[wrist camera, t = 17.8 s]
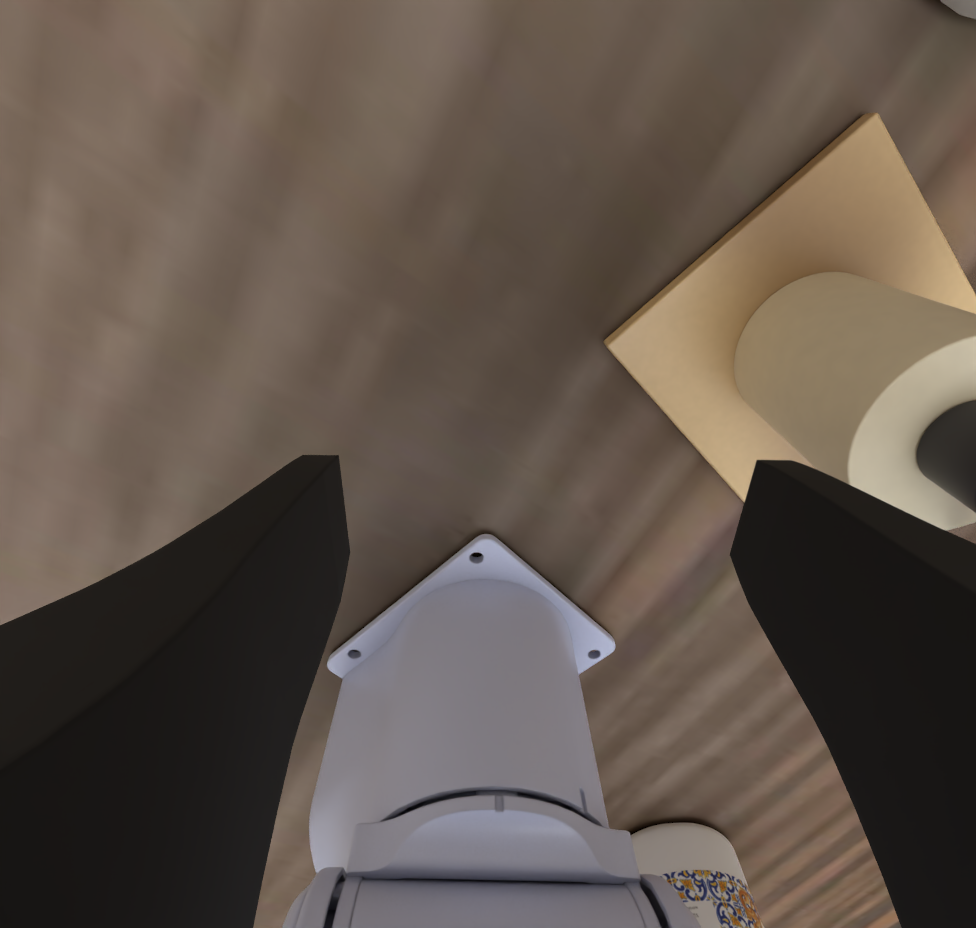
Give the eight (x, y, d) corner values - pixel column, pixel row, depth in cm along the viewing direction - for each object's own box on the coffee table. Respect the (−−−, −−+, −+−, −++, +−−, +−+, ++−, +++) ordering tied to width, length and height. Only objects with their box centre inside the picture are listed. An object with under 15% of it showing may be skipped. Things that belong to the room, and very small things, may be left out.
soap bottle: (720, 306, 17) (895, 416, 10) (887, 246, 17) (1202, 318, 9) (748, 453, 20) (905, 626, 13) (895, 405, 19) (1150, 560, 12)
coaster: (752, 511, 22) (759, 520, 21) (602, 341, 18) (605, 346, 18) (993, 347, 19) (1008, 352, 18) (864, 112, 16) (878, 111, 15)
